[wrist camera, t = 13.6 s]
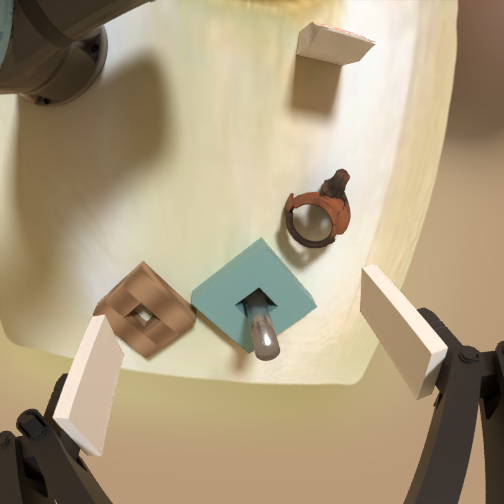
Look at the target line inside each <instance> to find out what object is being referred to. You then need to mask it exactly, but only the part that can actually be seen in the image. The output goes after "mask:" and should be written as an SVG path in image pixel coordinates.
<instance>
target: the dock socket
mask: <svg viewBox="0 0 504 504" xmlns="http://www.w3.org/2000/svg"><path fill="white" fill-rule="evenodd" d="M259 287H260V288H261V289H262V291H263V292H264V293H265V294H266V295H267V296H268V297H269V298H268V299H267V300H266V303H267V306H268V309H269V313H270V316H271V320H272V323H273V327H274V330H275V334H276V335H278V334H279V333H281V332H282V331H284V330H285V329H286V328H288V327H289V326H291V325H292V324H294V323H295V322H297V321H298V320H299V319H301V318H302V317H304V316H305V315H306V314H308V313H309V312H311V311H312V310H313V309H315V308H316V307H317V306H316V304H315V302H314V300H313V298H312V296H311V295H310V293H309V292H308V291H307V290H306V289H305V287H304V286H303V285H302V284H301V283H300V282H299V280H298V279H297V278H296V277H295V276H294V275H293V273H292V272H291V271H290V270H289V269H288V268H287V266H286V265H285V264H284V263H283V262H282V261H281V260H280V258H279V257H278V256H277V255H276V254H275V253H274V251H273V250H272V249H271V248H270V247H269V246H268V245H267V243H266V242H265V241H264V240H263V239H262V238H260V239H259V240H257V241H256V242H255V243H253V244H252V245H251V246H250V247H248V248H247V249H246V250H244V251H243V252H242V253H241V254H239V255H238V256H237V257H235V258H234V259H233V260H232V261H230V262H229V263H228V264H227V265H225V266H224V267H223V268H221V269H220V270H219V271H218V272H216V273H215V274H214V275H212V276H211V277H210V278H209V279H207V280H206V281H205V282H203V283H202V284H201V285H200V286H198V287H197V288H196V289H195V290H193V291H192V302H191V304H192V305H194V306H195V307H196V308H197V309H198V310H199V311H200V312H201V313H203V314H204V315H205V316H206V317H207V318H208V319H209V320H211V321H212V322H213V323H214V324H215V325H216V326H217V327H219V328H220V329H221V330H222V331H223V332H224V333H226V334H227V335H228V336H229V337H230V338H231V339H233V340H234V341H235V342H236V343H237V344H239V345H240V346H241V347H242V348H243V349H245V350H246V351H247V352H248V353H251V352H252V351H254V345H253V340H252V335H251V329H250V324H249V319H248V314H247V309H246V306H245V305H244V304H243V303H242V302H241V300H242V299H244V298H245V297H246V296H248V295H249V294H251V293H252V292H253V291H255V290H256V289H257V288H259Z"/></svg>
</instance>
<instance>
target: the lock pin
mask: <svg viewBox="0 0 504 504" xmlns="http://www.w3.org/2000/svg"><path fill="white" fill-rule="evenodd" d="M245 303H246V309H247V314H248V319H249V324H250V329H251V335H252V340H253V345H254V350H255V355H256V357H257V358H258V359H260V360H263V361H269V360H272V359H274V358H276V357H277V356H278V355H279V353H280V347H279V344H278V340H277V337H276V334H275V330H274V327H273V323H272V320H271V316H270V313H269V309H268V306H267V303H266V299H265V296H264V292H263V291H262V289H261V288H260V287H259V288H257V289H256V290H255V291H253V292H252V293H251V294H249V295H248V296H246V297H245Z"/></svg>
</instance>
